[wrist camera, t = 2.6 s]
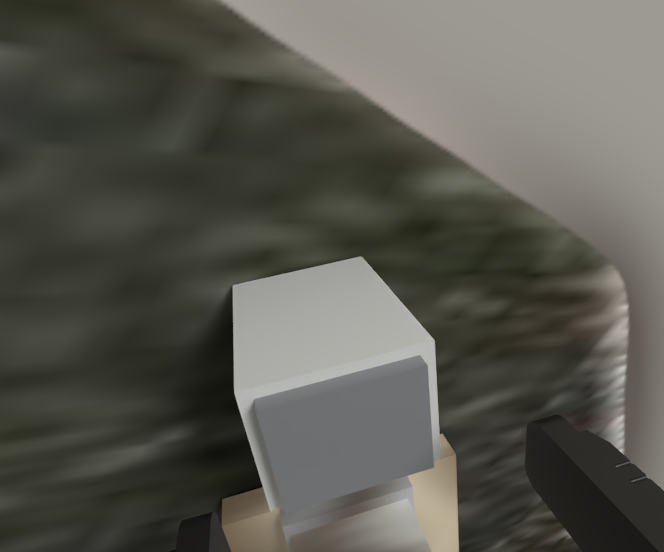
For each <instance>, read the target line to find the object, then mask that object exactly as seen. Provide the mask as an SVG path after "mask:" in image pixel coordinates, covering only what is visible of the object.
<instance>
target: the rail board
mask: <svg viewBox="0 0 664 552" xmlns="http://www.w3.org/2000/svg"><path fill="white" fill-rule="evenodd" d="M439 435H440V454H441V459H439V460H436V461H434V468H431V469H428V470H425V471H421V472H418V473H415V474H412V475H408V476H405V477H402V478H399V479H396V480H392V481H389V482H386V483H383V484H379V485H376V486H373V487H370V488H366V489H363V490H360V491H357V492H354V493H350V494H347V495H344V496H341V497H337V498H334V499H331V500H328V501H325V502H321V503H318V504H315V505H312V506H308V507H305V508H302V509H299V510H296V511H292V512H289V513H286V514H285V512H284V509H283V508H280V509H276V510H273V511H270V508H269V505H268V502H267V499H266V495H265V492H264V489H263V487H261V488H258V489H255V490H251V491H248V492H245V493H241V494H238V495H235V496H231V497H228V498H225V499H222V529H223V531H224V534H225V536H226V539H227V542H228V544H229V547H230V549H231V552H459V541H458V509H457V477H456V454H455V452H454V451H453V449H452V448H451V446H450V445H449V443H448V442H447V440H446V438H445V437H444V435H443V434H439Z"/></svg>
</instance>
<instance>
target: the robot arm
mask: <svg viewBox="0 0 664 552" xmlns="http://www.w3.org/2000/svg"><path fill="white" fill-rule="evenodd" d="M525 468H526V472H527V475H528V478H529V480H530V482H531V484H532V486H533V487H534V489H535V490H536V492H537V493H538V494H539V496H540V497H541V498H542V500H543V501H544V502H545V503H546V505H547V506H548V507H549V509H550V510H551V511H552V512H553V514H554V515H555V516H556V518H557V519H558V520H559V521H560V523H561V524H562V525H563V527H564V528H565V529H566V530H567V532H568V533H569V534H570V536H571V537H572V538H573V539H574V541H575V542H576V543H577V545H578V546H579V547H580V548H581V550H582V551H583V552H664V491H663V490H662V489H661V488H660V487H659V486H658V485H657V484H655V483H654V482H653V481H652V480H651V479H648V478H647V477H646V475H645V474H644V473H643V472H642V471H641V470H640V469H639V468H638V467H637V466H635V465H634V464H631V463H630V461H629V460H628V459H627V457H625V456H624V455H623V454H622V453H621V452H620V451H619V450H618V449H617V448H615V447H614V446H613V445H612V444H611V443H610V442H608V441H606V440H604V439H602V438H600V437H598V436H597V435H595V434H593V433H591V432H589V431H587V430H585V431H581V432H579V431H577V430H576V429H575V428H574V427H573V426H572V425H571V424H570V423H569V422H568V421H567V420H566V419H565V418H563V417H562V416H560V415H553V416H550V417H546V418H543V419H539V420H536V421H532V422H530V423H529V424H528V426H527V437H526V456H525ZM169 552H231V550H230V547H229V545H228V542H227V540H226V537H225V534H224V532H223V529H222V526H221V524H220V521H219V518H218V516H217V514H216V512H210V513H207V514H203V515H200V516H196V517H193V518H189V519H186V520H183V521H182V522H181V523H180V526H179V532H178V539H177V546H176V550H173V551H169Z"/></svg>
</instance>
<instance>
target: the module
mask: <svg viewBox="0 0 664 552" xmlns="http://www.w3.org/2000/svg"><path fill="white" fill-rule="evenodd" d="M233 348H234V394H235V397H236V401H237V404H238V407H239V410H240V414H241V417H242V420H243V424H244V427H245V430H246V433H247V437H248V440H249V443H250V446H251V450H252V453H253V456H254V459H255V463H256V466H257V469H258V473H259V476H260V479H261V482H262V486H263V489H264V492H265V495H266V499H267V502H268V505H269V508H270V511H273V510H276V509H280V508H283V509H284V512H285V514H286V513H289V512H292V511H296V510H299V509H302V508H305V507H308V506H312V505H315V504H318V503H321V502H325V501H328V500H331V499H334V498H337V497H341V496H344V495H347V494H350V493H354V492H357V491H360V490H363V489H366V488H370V487H373V486H376V485H379V484H383V483H386V482H389V481H392V480H396V479H399V478H402V477H405V476H408V475H412V474H415V473H418V472H421V471H425V470H428V469H431V468H434V461H436V460H439V459H441V454H440V435H439V416H438V397H437V378H436V359H435V340H434V339H433V338H432V337H431V336H430V335H429V333H428V332H427V331H426V330H425V329H424V328H423V327H422V325H421V324H420V323H419V322H418V321H417V320H416V319H415V317H414V316H413V315H412V314H411V313H410V312H409V310H408V309H407V308H406V307H405V306H404V305H403V304H402V302H401V301H400V300H399V299H398V298H397V297H396V295H395V294H394V293H393V292H392V291H391V290H390V289H389V287H388V286H387V285H386V284H385V283H384V282H383V280H382V279H381V278H380V277H379V276H378V275H377V274H376V272H375V271H374V270H373V269H372V268H371V267H370V265H369V264H368V263H367V262H366V261H365V260H364V259H363V257H362V256H361V257H356V258H352V259H348V260H343V261H339V262H334V263H330V264H325V265H321V266H316V267H312V268H307V269H303V270H298V271H294V272H290V273H285V274H281V275H276V276H272V277H267V278H263V279H258V280H254V281H249V282H245V283H240V284H236V285H233Z"/></svg>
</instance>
